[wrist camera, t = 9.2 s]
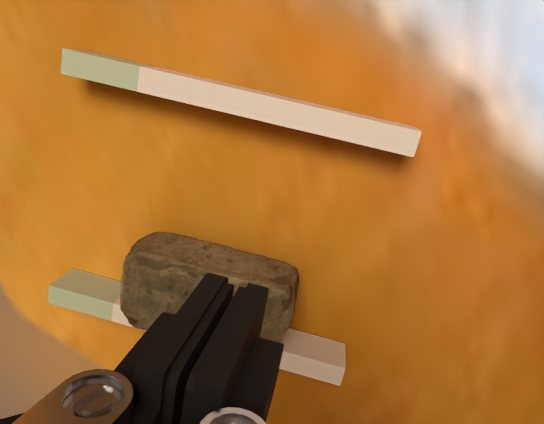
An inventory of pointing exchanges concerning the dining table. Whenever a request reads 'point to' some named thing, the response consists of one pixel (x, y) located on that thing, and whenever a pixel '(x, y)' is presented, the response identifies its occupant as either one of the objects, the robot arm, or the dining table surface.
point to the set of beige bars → (247, 103)
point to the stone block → (190, 271)
